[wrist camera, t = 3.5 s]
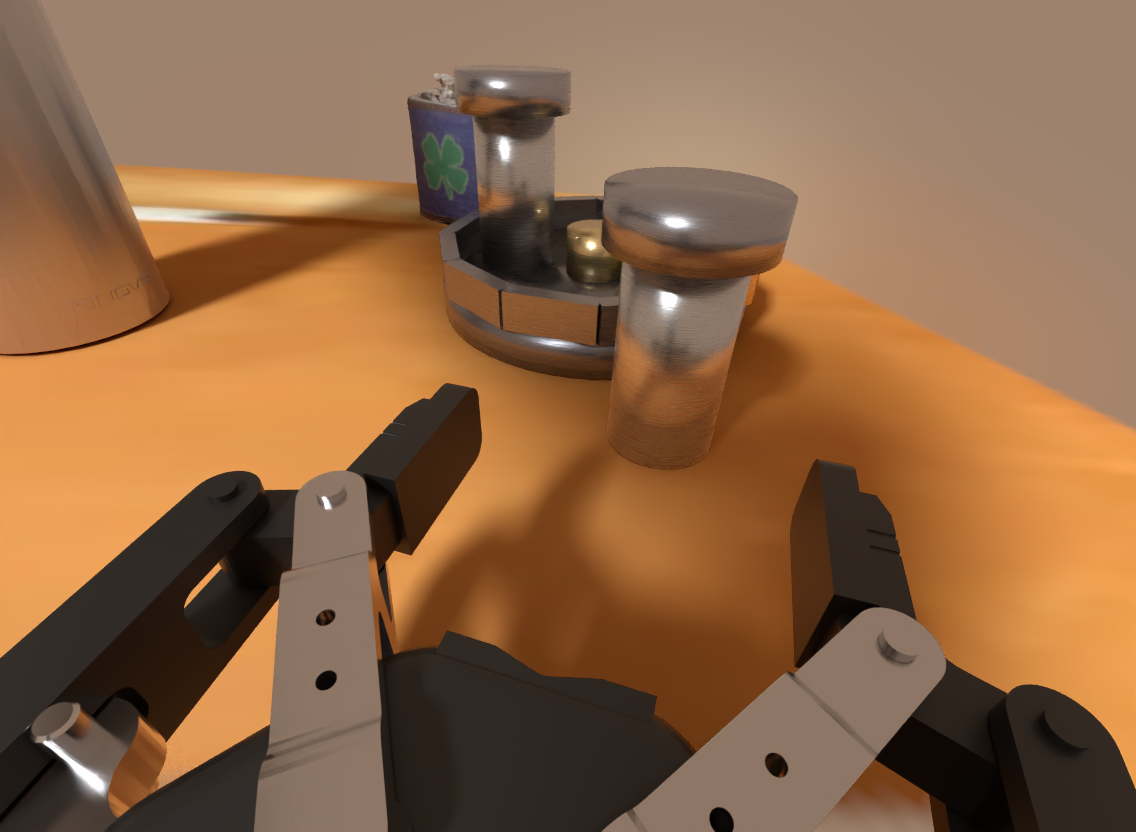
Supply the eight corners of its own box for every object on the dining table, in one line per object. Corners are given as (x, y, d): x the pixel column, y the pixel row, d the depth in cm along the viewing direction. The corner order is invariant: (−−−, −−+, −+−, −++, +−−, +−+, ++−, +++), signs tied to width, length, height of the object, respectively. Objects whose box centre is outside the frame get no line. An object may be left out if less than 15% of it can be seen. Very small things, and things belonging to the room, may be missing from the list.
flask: (512, 227, 45) (507, 77, 39) (488, 236, 43) (478, 79, 37) (435, 207, 49) (418, 68, 43) (410, 214, 47) (389, 70, 41)
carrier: (387, 344, 29) (335, 79, 21) (512, 239, 42) (506, 57, 35) (738, 409, 25) (817, 111, 17) (749, 270, 39) (796, 72, 31)
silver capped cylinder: (571, 463, 21) (582, 201, 15) (606, 385, 26) (625, 161, 20) (725, 498, 20) (802, 226, 14) (733, 409, 25) (794, 177, 19)
